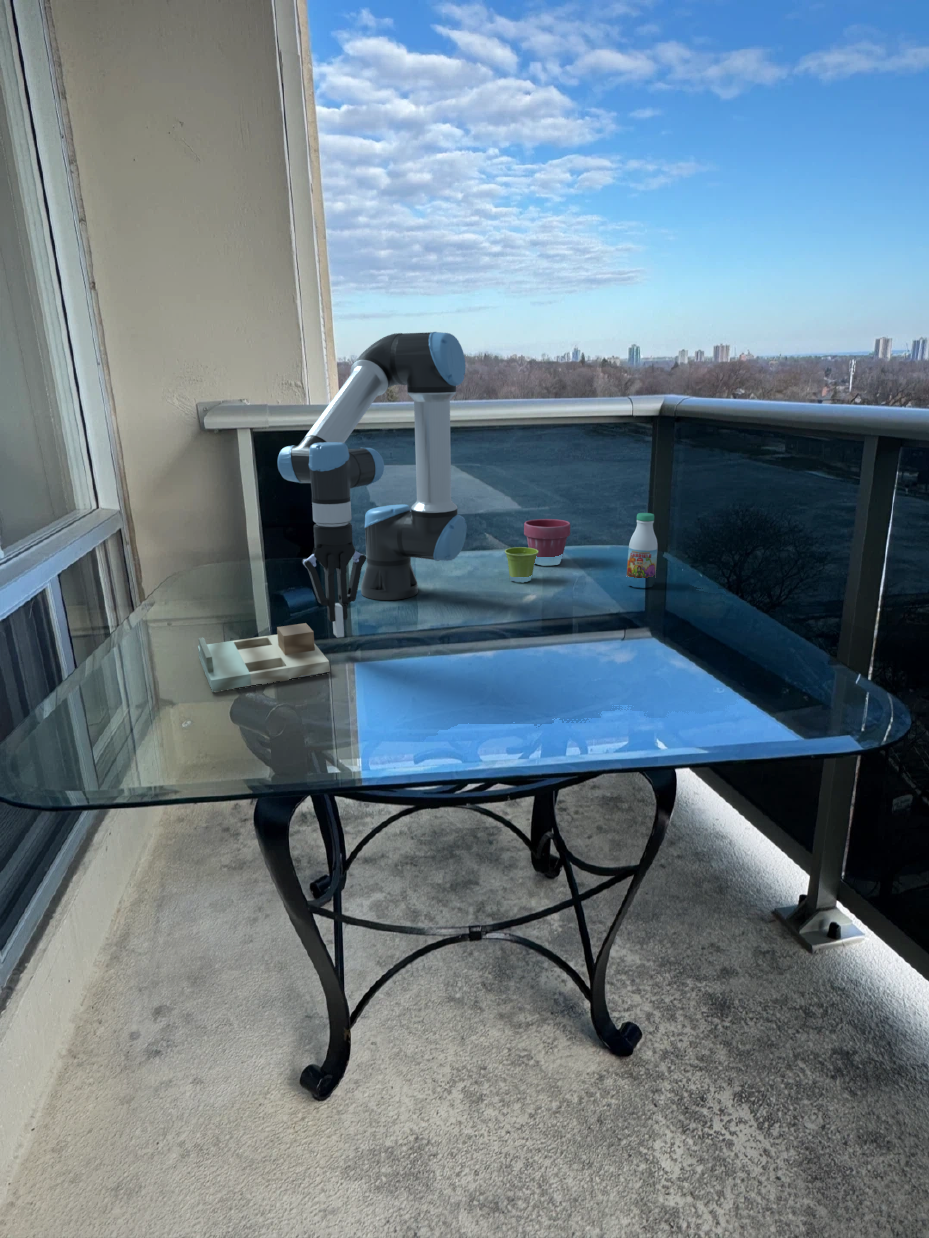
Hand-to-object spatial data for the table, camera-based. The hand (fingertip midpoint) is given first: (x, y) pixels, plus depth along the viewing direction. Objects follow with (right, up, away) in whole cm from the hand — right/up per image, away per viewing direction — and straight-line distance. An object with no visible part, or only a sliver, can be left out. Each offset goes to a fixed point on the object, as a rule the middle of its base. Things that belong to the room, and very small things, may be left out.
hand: (338, 634), depth 153 cm
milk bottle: (+75, +12, +51) cm, 91 cm away
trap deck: (-14, -6, -5) cm, 16 cm away
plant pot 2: (+51, +20, +75) cm, 93 cm away
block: (-8, -3, -3) cm, 9 cm away
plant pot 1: (+42, +14, +56) cm, 71 cm away
